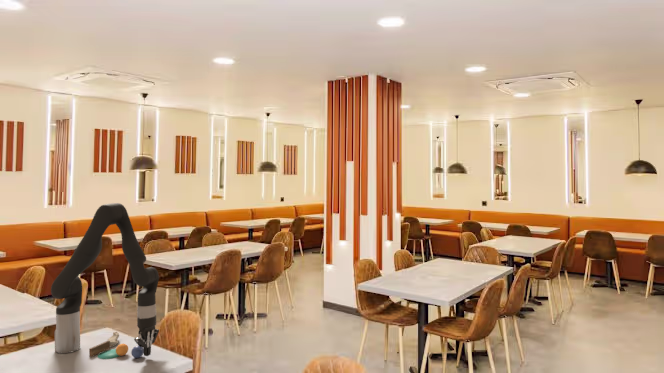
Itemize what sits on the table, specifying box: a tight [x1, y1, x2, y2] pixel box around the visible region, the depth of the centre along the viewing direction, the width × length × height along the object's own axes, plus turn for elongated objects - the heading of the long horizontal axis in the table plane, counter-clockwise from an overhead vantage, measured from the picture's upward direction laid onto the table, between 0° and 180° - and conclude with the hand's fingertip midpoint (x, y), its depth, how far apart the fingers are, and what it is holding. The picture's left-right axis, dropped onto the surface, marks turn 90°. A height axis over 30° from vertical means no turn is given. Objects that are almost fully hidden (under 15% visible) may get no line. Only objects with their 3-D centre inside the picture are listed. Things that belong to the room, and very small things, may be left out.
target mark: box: [97, 348, 120, 360], centre depth 189 cm, size 11×11×1 cm
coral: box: [107, 331, 120, 348], centre depth 201 cm, size 6×10×4 cm, turn 26°
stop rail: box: [88, 340, 111, 358], centre depth 191 cm, size 1×10×4 cm, turn 163°
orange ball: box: [115, 343, 129, 357], centre depth 187 cm, size 5×5×5 cm
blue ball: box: [130, 345, 144, 359], centre depth 185 cm, size 5×5×5 cm
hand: (147, 355), depth 183 cm, fingers closed
